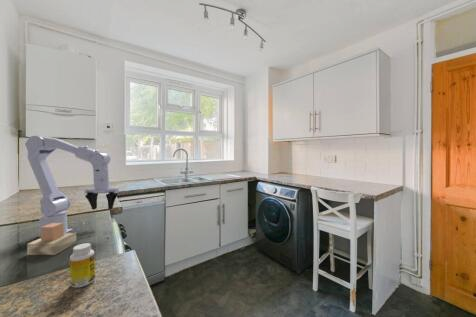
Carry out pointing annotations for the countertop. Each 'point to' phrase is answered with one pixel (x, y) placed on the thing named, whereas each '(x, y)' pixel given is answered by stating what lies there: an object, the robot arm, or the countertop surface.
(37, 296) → the countertop surface
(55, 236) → the block
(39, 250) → the base
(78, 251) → the supplement bottle
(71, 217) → the countertop surface
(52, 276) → the countertop surface
